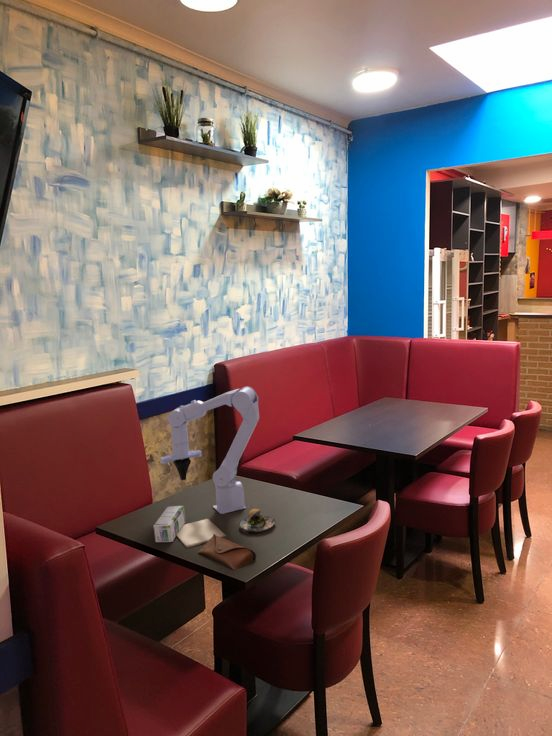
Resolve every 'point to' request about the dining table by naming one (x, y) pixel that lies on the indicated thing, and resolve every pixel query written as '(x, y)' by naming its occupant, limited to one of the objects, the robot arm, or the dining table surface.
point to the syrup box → (169, 524)
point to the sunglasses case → (227, 552)
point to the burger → (255, 522)
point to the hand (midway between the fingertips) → (183, 479)
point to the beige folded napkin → (198, 533)
